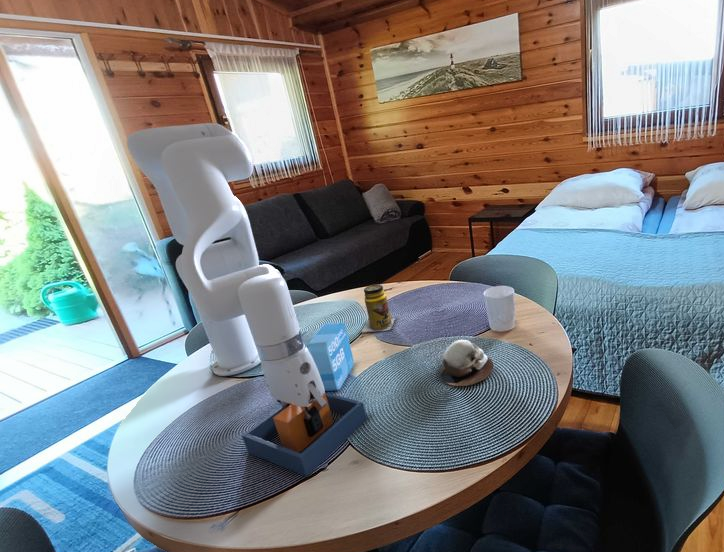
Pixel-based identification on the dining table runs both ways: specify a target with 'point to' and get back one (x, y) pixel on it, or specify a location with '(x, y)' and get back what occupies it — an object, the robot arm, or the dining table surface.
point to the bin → (316, 451)
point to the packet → (299, 426)
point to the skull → (465, 364)
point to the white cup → (500, 307)
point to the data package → (332, 355)
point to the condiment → (377, 309)
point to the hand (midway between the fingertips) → (307, 428)
